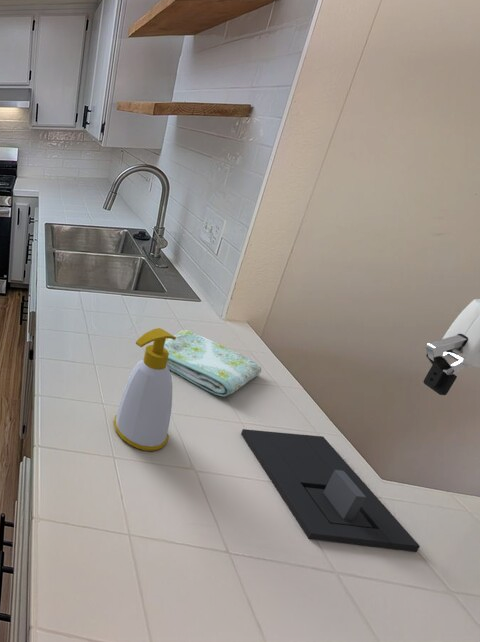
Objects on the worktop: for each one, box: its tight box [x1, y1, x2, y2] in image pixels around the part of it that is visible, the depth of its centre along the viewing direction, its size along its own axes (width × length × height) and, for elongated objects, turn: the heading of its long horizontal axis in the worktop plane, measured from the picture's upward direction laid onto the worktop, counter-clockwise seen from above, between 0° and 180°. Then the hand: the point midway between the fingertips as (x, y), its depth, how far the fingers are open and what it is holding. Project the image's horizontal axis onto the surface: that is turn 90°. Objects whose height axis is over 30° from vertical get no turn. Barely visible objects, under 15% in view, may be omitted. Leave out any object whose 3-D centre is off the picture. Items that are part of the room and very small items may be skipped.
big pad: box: [240, 428, 421, 553], centre depth 73 cm, size 16×22×2 cm
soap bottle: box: [113, 327, 176, 452], centre depth 81 cm, size 11×12×26 cm
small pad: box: [305, 470, 373, 528], centre depth 68 cm, size 7×7×7 cm
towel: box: [164, 329, 262, 397], centre depth 105 cm, size 18×21×5 cm
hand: (467, 391), depth 62 cm, fingers open, 9 cm apart
